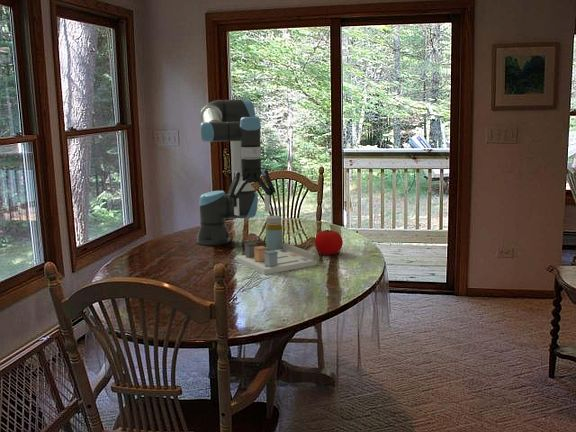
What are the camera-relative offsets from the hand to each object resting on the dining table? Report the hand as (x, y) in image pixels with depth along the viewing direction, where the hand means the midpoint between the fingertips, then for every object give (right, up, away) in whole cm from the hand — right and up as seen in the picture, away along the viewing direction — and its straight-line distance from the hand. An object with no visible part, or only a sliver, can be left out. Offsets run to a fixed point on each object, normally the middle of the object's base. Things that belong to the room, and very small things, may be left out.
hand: (252, 213), depth 231 cm
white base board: (+9, -20, +10) cm, 24 cm away
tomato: (+31, -17, +24) cm, 43 cm away
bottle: (+8, -16, +30) cm, 35 cm away
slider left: (-1, -17, +13) cm, 21 cm away
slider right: (+7, -20, -1) cm, 21 cm away
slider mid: (+3, -19, +6) cm, 20 cm away
